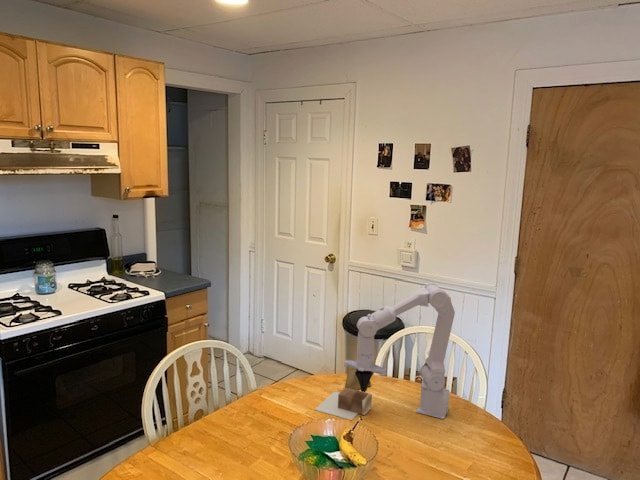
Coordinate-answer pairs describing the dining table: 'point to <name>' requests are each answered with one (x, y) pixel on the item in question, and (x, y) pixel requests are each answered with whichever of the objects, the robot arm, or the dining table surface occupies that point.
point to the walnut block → (354, 401)
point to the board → (334, 407)
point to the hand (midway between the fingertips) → (363, 390)
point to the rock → (353, 380)
